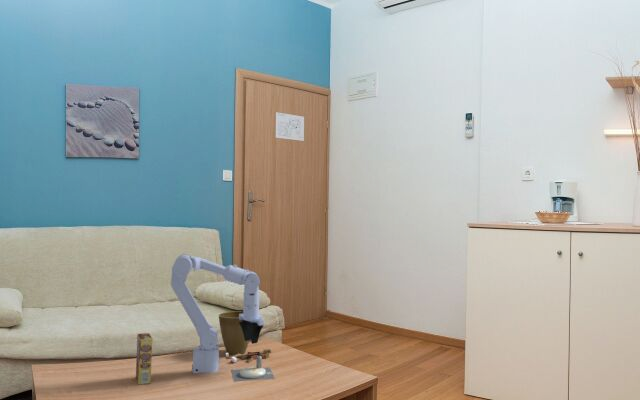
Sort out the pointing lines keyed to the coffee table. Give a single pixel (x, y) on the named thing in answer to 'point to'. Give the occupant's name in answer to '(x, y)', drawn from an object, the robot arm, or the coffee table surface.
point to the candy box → (144, 358)
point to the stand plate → (238, 378)
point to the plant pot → (232, 333)
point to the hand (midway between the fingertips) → (251, 341)
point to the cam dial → (254, 370)
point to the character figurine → (249, 356)
